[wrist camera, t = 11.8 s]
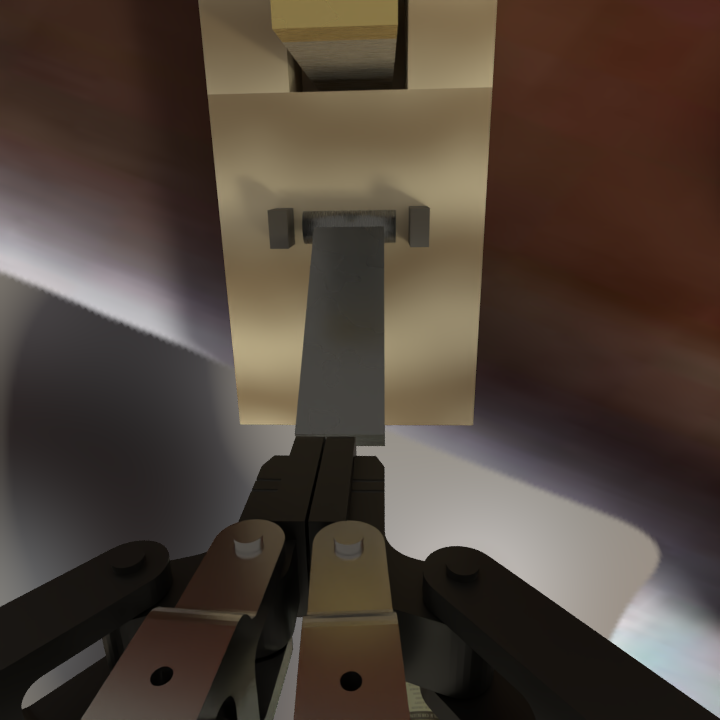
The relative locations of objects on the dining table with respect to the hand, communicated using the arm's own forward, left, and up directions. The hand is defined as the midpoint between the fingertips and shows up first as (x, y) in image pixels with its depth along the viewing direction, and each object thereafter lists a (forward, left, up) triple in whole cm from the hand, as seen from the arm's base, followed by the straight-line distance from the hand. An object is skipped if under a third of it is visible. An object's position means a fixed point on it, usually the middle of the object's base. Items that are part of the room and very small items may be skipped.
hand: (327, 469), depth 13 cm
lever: (+1, 0, -9) cm, 9 cm away
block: (+7, 0, -18) cm, 19 cm away
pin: (+13, 0, -17) cm, 21 cm away
